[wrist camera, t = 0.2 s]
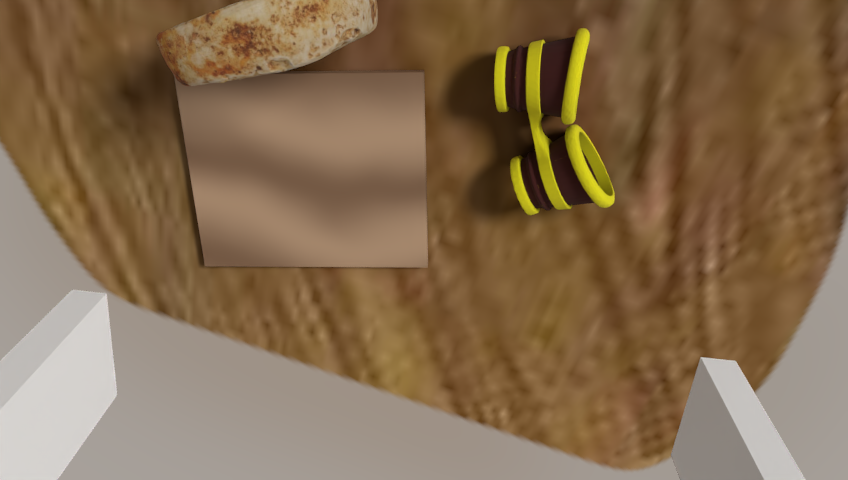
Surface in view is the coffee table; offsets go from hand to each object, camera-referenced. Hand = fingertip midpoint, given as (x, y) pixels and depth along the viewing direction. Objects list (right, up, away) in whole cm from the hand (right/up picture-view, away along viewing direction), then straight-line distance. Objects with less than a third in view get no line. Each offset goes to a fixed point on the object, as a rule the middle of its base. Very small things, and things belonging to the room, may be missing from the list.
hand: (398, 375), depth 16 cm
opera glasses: (+8, +10, +25) cm, 28 cm away
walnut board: (-6, +7, +27) cm, 29 cm away
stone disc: (-6, +15, +24) cm, 29 cm away
